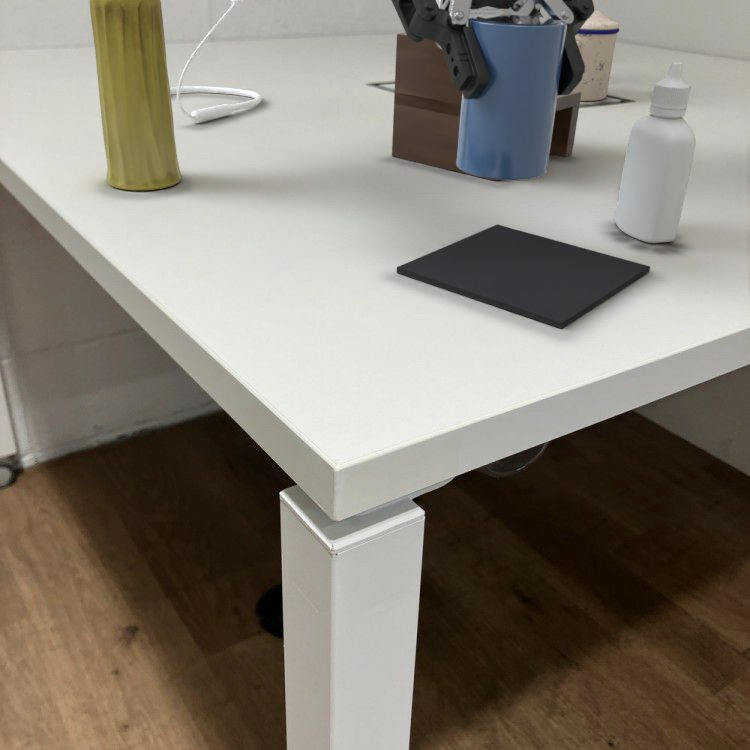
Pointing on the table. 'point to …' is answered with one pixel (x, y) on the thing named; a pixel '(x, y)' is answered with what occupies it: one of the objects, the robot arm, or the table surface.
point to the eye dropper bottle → (657, 164)
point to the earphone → (214, 88)
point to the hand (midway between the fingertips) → (525, 88)
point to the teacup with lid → (596, 55)
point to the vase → (134, 94)
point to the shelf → (447, 109)
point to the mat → (526, 274)
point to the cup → (512, 97)
